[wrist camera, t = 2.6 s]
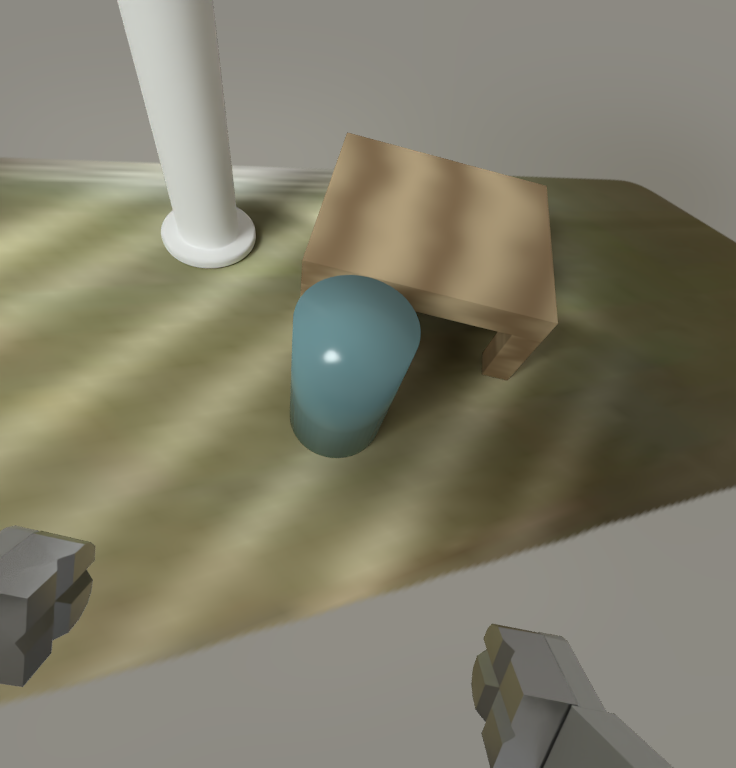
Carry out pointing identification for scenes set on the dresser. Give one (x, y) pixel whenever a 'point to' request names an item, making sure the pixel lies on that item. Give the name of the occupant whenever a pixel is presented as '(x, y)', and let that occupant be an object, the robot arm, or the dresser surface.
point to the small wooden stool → (441, 242)
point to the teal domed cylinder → (348, 361)
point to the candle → (189, 128)
